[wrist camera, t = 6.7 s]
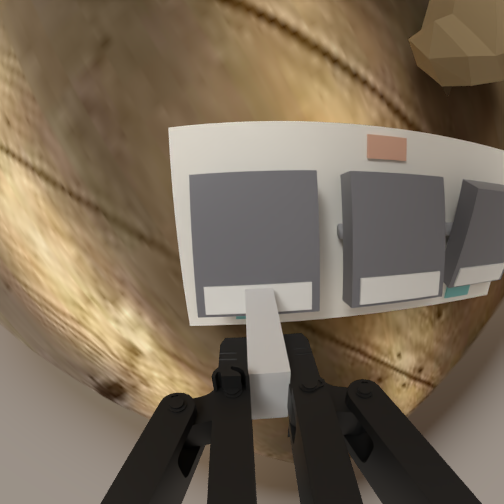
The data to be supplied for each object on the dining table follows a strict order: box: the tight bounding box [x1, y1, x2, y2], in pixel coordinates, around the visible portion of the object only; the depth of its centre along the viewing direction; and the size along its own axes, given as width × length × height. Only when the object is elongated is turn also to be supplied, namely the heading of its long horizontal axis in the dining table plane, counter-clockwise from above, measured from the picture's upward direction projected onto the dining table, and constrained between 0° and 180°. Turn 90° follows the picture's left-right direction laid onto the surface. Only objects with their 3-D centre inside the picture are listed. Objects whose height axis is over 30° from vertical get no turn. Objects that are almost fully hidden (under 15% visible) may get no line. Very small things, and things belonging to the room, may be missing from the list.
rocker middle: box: [340, 171, 445, 308], centre depth 17 cm, size 8×7×2 cm
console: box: [169, 121, 504, 326], centre depth 21 cm, size 14×28×6 cm, turn 92°
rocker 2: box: [443, 179, 504, 288], centre depth 17 cm, size 8×7×2 cm
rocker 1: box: [189, 170, 320, 318], centre depth 17 cm, size 8×7×2 cm
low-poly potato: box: [408, 0, 504, 97], centre depth 13 cm, size 15×11×12 cm
